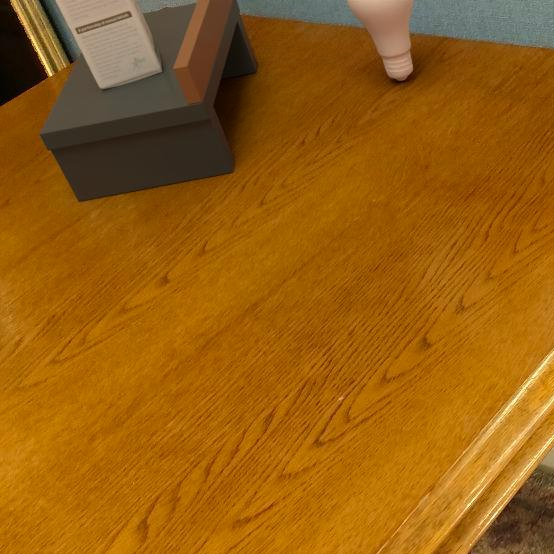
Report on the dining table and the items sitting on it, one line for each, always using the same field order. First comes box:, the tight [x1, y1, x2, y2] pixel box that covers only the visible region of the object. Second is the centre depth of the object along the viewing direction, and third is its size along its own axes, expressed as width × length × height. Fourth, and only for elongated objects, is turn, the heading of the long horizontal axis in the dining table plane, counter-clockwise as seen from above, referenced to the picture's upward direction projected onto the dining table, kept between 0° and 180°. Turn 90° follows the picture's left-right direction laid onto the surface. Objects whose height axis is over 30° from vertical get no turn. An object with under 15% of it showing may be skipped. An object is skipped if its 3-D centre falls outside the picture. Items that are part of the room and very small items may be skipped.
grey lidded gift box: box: [38, 0, 259, 202], centre depth 91 cm, size 14×23×10 cm, turn 5°
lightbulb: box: [346, 0, 415, 82], centre depth 90 cm, size 6×6×11 cm
